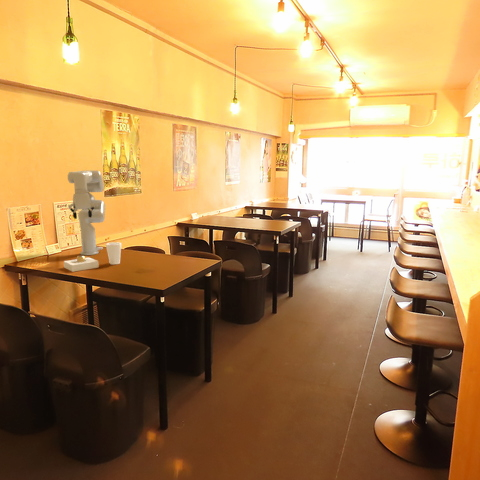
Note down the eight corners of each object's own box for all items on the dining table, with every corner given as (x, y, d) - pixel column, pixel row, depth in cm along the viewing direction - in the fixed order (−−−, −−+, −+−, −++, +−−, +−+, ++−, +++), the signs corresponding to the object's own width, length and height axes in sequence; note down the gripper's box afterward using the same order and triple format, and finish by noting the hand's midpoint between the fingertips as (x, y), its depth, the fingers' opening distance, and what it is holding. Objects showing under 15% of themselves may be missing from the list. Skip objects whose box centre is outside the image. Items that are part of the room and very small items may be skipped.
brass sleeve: (83, 266, 254) (83, 255, 253) (86, 267, 251) (85, 256, 250) (76, 267, 251) (75, 256, 250) (79, 268, 248) (78, 257, 247)
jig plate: (89, 263, 261) (89, 257, 261) (98, 267, 251) (98, 261, 251) (64, 267, 251) (63, 261, 250) (72, 271, 241) (72, 265, 240)
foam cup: (125, 262, 264) (124, 242, 261) (115, 265, 255) (114, 245, 253) (114, 261, 268) (112, 241, 265) (103, 264, 259) (102, 244, 257)
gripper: (91, 190, 271) (93, 216, 274) (65, 192, 259) (67, 218, 263) (96, 191, 266) (98, 217, 269) (69, 192, 254) (71, 219, 257)
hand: (82, 217), depth 266 cm, fingers open, 9 cm apart
